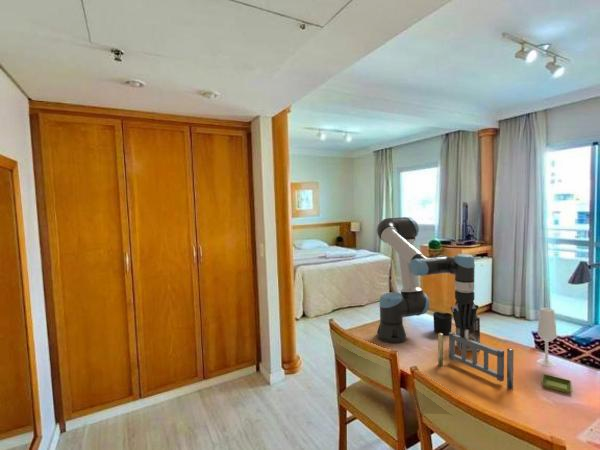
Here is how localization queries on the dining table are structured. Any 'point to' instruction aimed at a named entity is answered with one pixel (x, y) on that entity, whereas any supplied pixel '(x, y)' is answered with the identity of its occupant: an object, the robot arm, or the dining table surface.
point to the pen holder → (442, 323)
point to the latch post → (440, 349)
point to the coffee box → (471, 335)
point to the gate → (473, 363)
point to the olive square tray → (556, 383)
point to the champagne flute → (547, 332)
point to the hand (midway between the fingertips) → (464, 343)
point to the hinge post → (510, 368)
